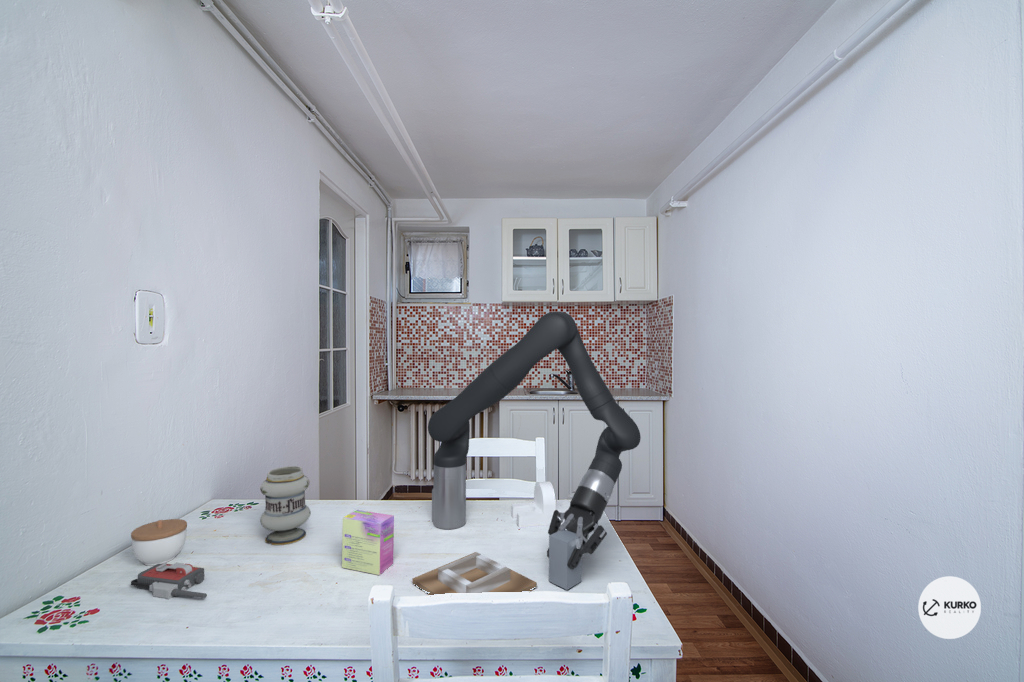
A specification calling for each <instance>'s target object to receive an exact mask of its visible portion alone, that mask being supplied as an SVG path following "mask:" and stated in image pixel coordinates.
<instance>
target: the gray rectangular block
mask: <svg viewBox="0 0 1024 682" xmlns="http://www.w3.org/2000/svg"><path fill="white" fill-rule="evenodd" d="M548 535H549V534H548ZM577 541H578V537H576V533H573V532H570V531H568V530H567V529H565V531H561V530H560V531H558V532H556V533H554V534H551V535H549V536H548V548H549V558H548V582H549V583H552V584H554V585H556V586H558V587H560V588H562V589H565V590H566V591H568V590H569V589H571V588H573V587H574V586H577V584H579V583H581V582H582V558H581V559H580V561H579V564H578V566H577V567H576V568H574V570H572V569H570V568H569V567H568V566H567V563H568V561H569V559H570V556H571V554H572V552H573V550H574V548H575V549H576V543H577Z"/></svg>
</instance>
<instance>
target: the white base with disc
mask: <svg viewBox="0 0 1024 682" xmlns="http://www.w3.org/2000/svg"><path fill="white" fill-rule="evenodd" d="M570 502H571V500H569V499H557V500H556V495H555V490H554V486H553V484H552V483H551V481H549V480H548V481H536V483H535V485H534V490H533V501H530V502H519V503H511V518H512V519H516V526H517V527H519V529H524V528H525V527H527V528H534V527H535V528H537V527H547V526H548V527H549V526H550V523H551V520H552V516H553V513H554V511H555V510H558V511H559V512H561V513H565V512H566V511H567V510H568V509H569V507H570ZM564 521H565V519H564V520H563V522H564ZM561 525H562V523H561ZM525 529H526V528H525Z"/></svg>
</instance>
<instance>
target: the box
mask: <svg viewBox="0 0 1024 682" xmlns="http://www.w3.org/2000/svg"><path fill="white" fill-rule="evenodd" d="M341 529H342V530H341V531H342V532H341V533H342V536H341V537H342V538H341V539H342V540H341V542H342V543H341V545H342V547H341V563H342V564H341V568H343V569H348V570H353V571H359V572H362V573H368V574H372V575H376V576H381V575H382V574H383V573H385V572H386V571H387V570H389V569H390V568H391V567H392V566H393V565H394V546H395V545H394V539H395V538H394V537H395V533H394V532H395V515H392V514H385V513H380V512H375V511H374V512H373V511H368V510H363V509H362V510H361V509H357V510H353V511H352V512H350V513H349V514H347V515H344V516H343V517H342V528H341ZM392 564H393V565H392ZM391 565H392V566H391ZM390 566H391V567H390ZM389 567H390V568H389ZM388 568H389V569H388ZM386 569H387V570H386ZM385 570H386V571H385ZM384 571H385V572H384ZM380 574H381V575H380Z"/></svg>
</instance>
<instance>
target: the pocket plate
mask: <svg viewBox="0 0 1024 682" xmlns="http://www.w3.org/2000/svg"><path fill="white" fill-rule="evenodd" d="M411 580H412V583H413V584H415V585H417V586H418V587H419V588H421V589H423V590H425V591H427V592H430V593H429V594H427V595H428V596H429V595H434V594H445V593H482V592H522V591H531V592H532V591H533V590H530V589H532V588H534V587H536V586H537V585H538V583H537V581H535V580H532V579H530V578H528V577H527V576H524V575H523V574H521V573H518V572H516V571H515V570H513V569H510V568H509V567H507V566H505V565H503V564H501V563H499V562H497V561H495V560H494V559H491V558H489V557H487V556H485V555H483V554H481V553H479V552H477V551H475V552H472V553H470V554H468V555H467V554H466V555H465V556H463V557H460V558H457V559H456V560H454V561H451V562H449V563H446V564H444V565H441V566H438V567H436V568H433V569H432V570H429V571H427V572H424V573H422V574H420V575H418V576H415V577H412V579H411ZM413 584H412V585H413ZM415 585H414V586H415ZM418 587H417V588H418ZM537 587H538V586H537ZM419 588H418V589H419ZM421 589H420V590H421Z"/></svg>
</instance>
